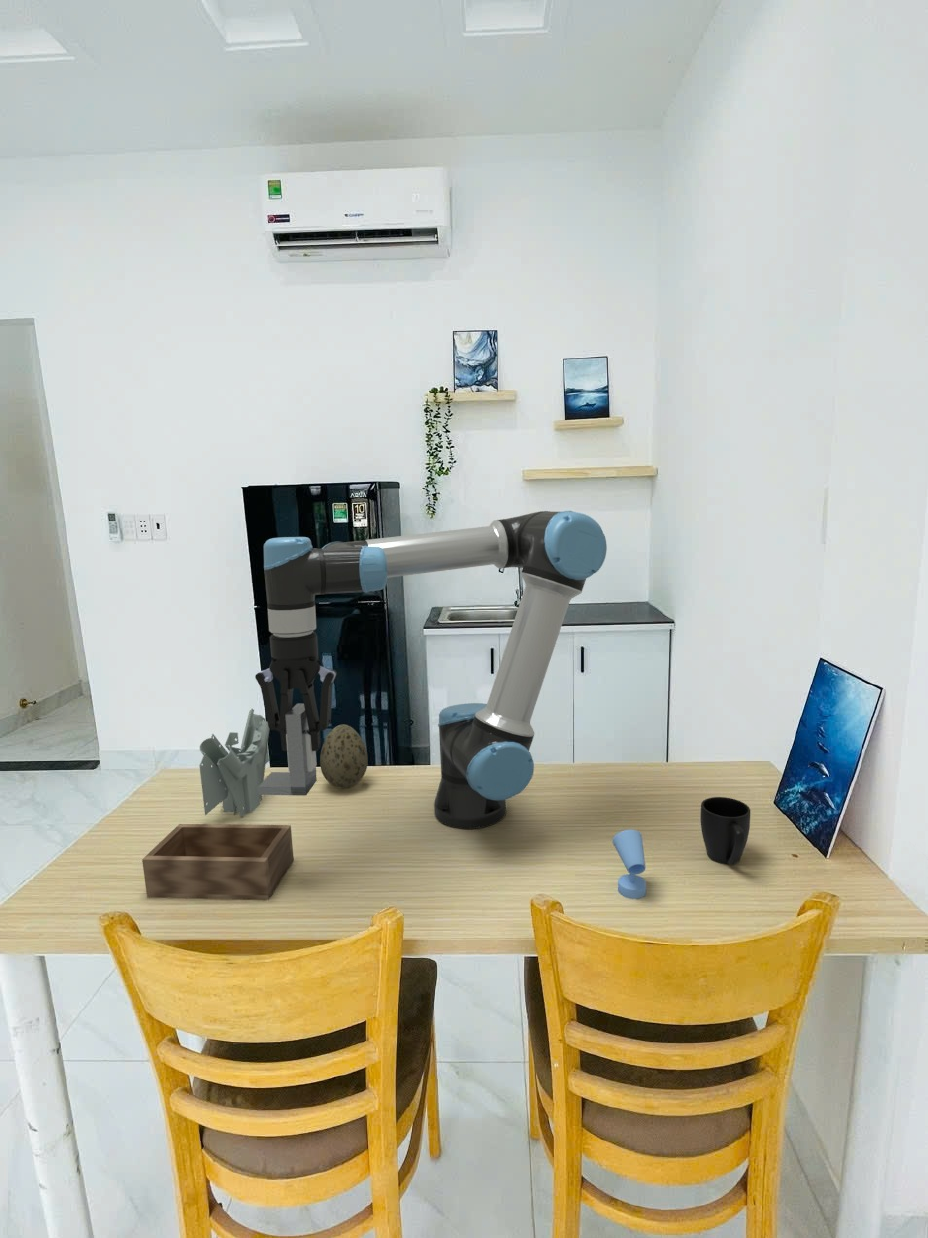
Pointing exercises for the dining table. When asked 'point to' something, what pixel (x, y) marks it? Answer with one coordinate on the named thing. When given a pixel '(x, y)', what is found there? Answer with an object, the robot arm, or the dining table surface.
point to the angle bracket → (292, 760)
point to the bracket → (235, 768)
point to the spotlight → (631, 863)
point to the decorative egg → (343, 757)
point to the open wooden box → (219, 861)
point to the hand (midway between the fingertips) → (302, 767)
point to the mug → (724, 828)
